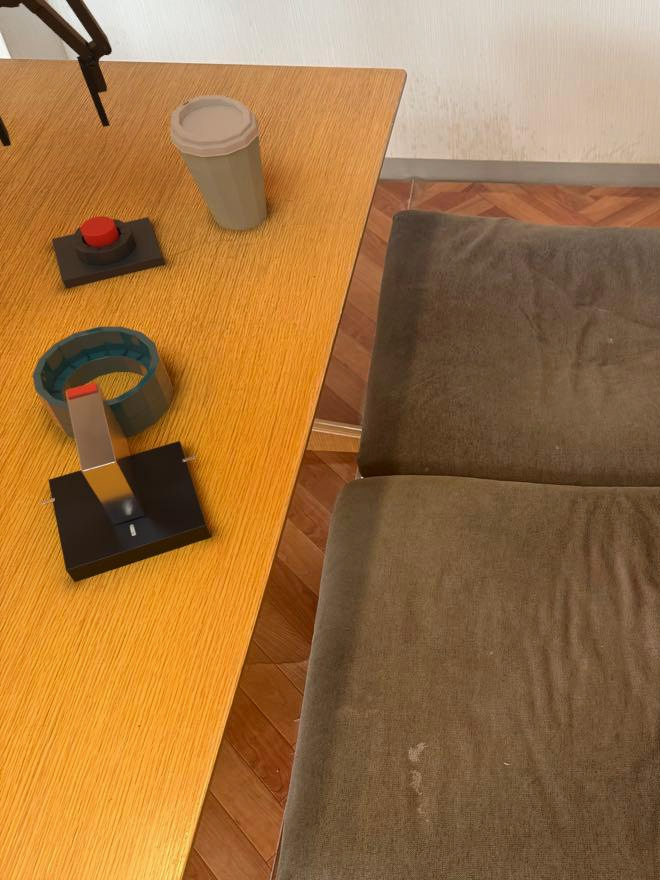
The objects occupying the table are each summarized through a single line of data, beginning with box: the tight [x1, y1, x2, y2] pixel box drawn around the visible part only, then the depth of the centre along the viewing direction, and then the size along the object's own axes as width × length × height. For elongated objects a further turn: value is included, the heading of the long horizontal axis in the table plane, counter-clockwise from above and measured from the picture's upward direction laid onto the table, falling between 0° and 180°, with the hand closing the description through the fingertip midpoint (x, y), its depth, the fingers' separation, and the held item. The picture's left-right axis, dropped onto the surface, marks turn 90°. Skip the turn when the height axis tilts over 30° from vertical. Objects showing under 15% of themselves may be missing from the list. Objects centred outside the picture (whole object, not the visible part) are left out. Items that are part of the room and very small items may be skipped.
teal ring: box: [32, 325, 174, 439], centre depth 97 cm, size 13×13×6 cm
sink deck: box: [39, 440, 213, 583], centre depth 90 cm, size 15×17×3 cm
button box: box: [51, 216, 166, 290], centre depth 112 cm, size 12×9×4 cm
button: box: [79, 215, 119, 247], centre depth 110 cm, size 4×4×2 cm
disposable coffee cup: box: [169, 94, 268, 231], centre depth 113 cm, size 11×11×15 cm
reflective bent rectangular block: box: [65, 381, 145, 525], centre depth 86 cm, size 11×3×8 cm, turn 24°
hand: (56, 129), depth 100 cm, fingers open, 10 cm apart
